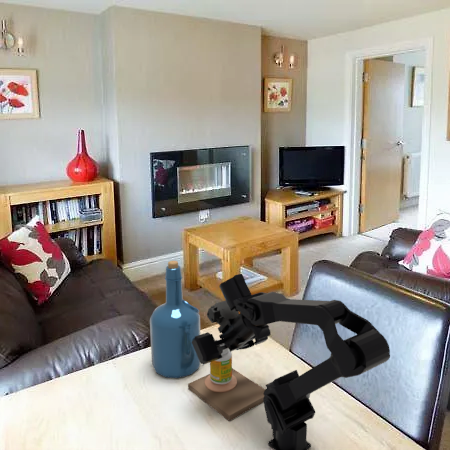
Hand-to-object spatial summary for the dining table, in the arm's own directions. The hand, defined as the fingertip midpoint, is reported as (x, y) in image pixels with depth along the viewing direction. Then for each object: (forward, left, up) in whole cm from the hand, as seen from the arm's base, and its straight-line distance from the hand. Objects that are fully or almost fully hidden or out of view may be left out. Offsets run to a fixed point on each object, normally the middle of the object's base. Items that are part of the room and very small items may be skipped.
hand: (217, 351), depth 114 cm
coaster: (-1, 0, -8) cm, 8 cm away
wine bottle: (+14, +3, -10) cm, 18 cm away
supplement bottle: (-1, 0, -7) cm, 7 cm away
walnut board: (-4, 0, -10) cm, 10 cm away
